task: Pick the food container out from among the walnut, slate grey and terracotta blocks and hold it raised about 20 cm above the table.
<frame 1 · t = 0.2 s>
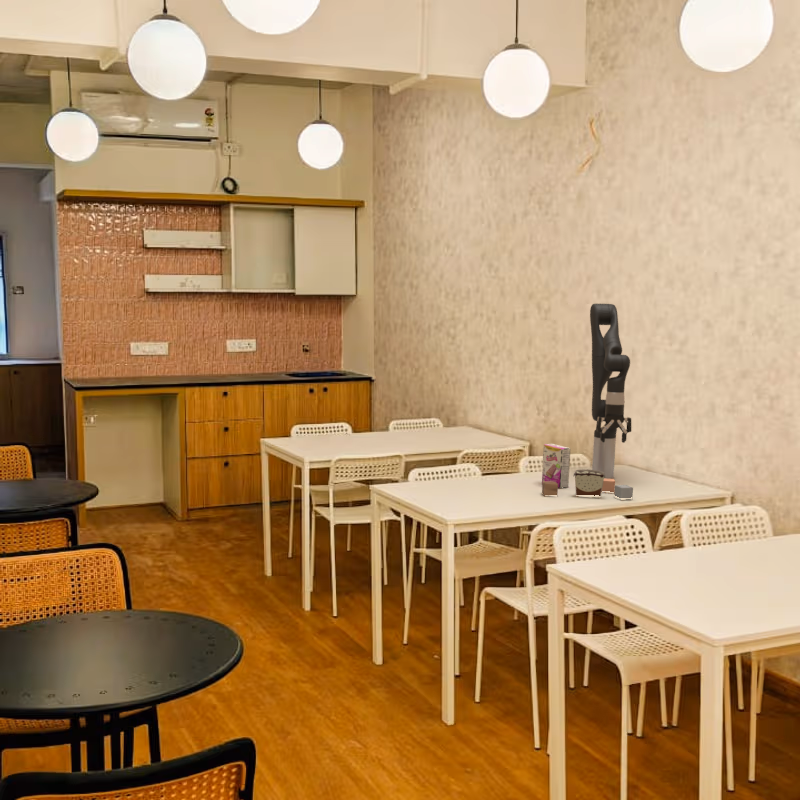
hand: (613, 442, 415), 17 cm above the table, tool pointing down, fingers open, 8 cm apart
slate grey block: (623, 499, 390), on the table
terracotta block: (607, 492, 401), on the table
candy bar box: (554, 486, 410), on the table
walnut block: (549, 495, 392), on the table
food container: (587, 496, 393), on the table
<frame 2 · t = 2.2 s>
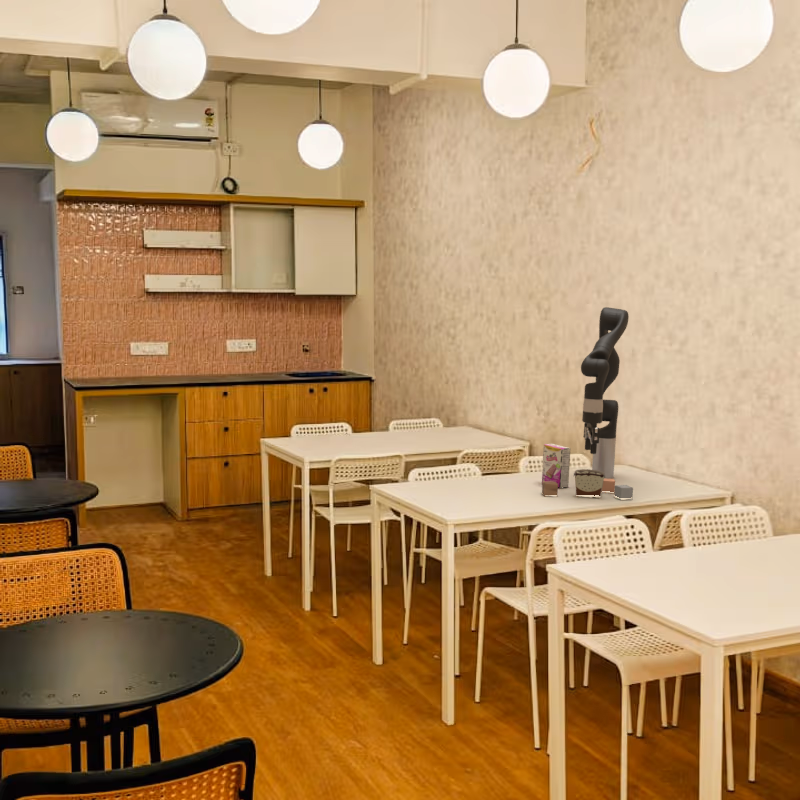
hand: (590, 451, 391), 17 cm above the table, tool pointing down, fingers open, 8 cm apart
nothing on the table moved.
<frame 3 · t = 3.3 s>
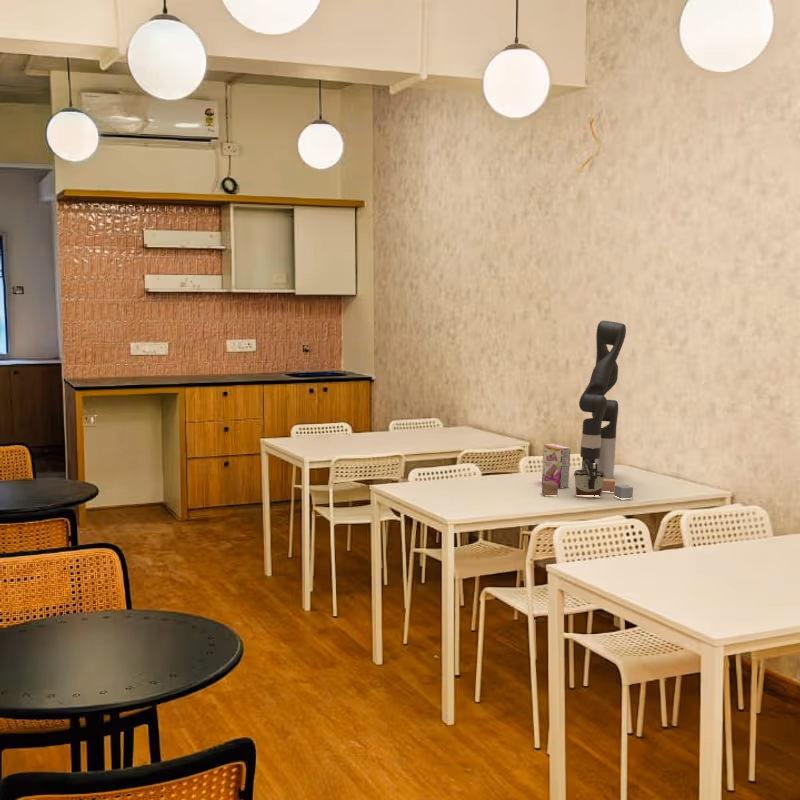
hand: (588, 486, 392), 4 cm above the table, tool pointing down, fingers open, 8 cm apart
nothing on the table moved.
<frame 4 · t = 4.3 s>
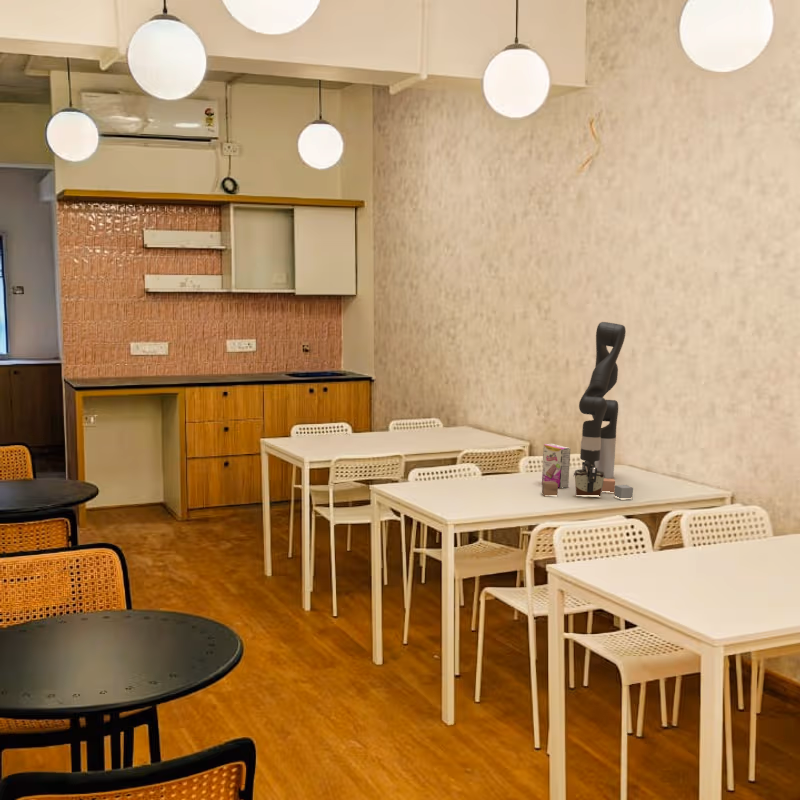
hand: (588, 490, 392), 2 cm above the table, tool pointing down, fingers closed on food container, 5 cm apart
food container: (587, 496, 393), on the table, touching gripper
everything else where it was.
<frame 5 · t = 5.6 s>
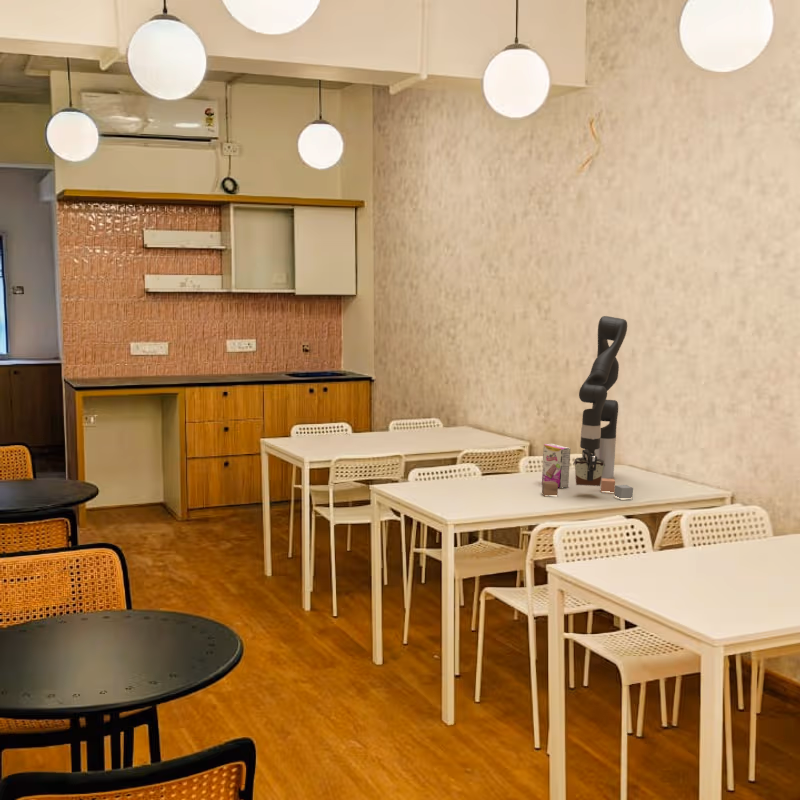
hand: (588, 478, 392), 7 cm above the table, tool pointing down, fingers closed on food container, 5 cm apart
food container: (587, 484, 393), point 4 cm above the table, touching gripper
everything else where it was.
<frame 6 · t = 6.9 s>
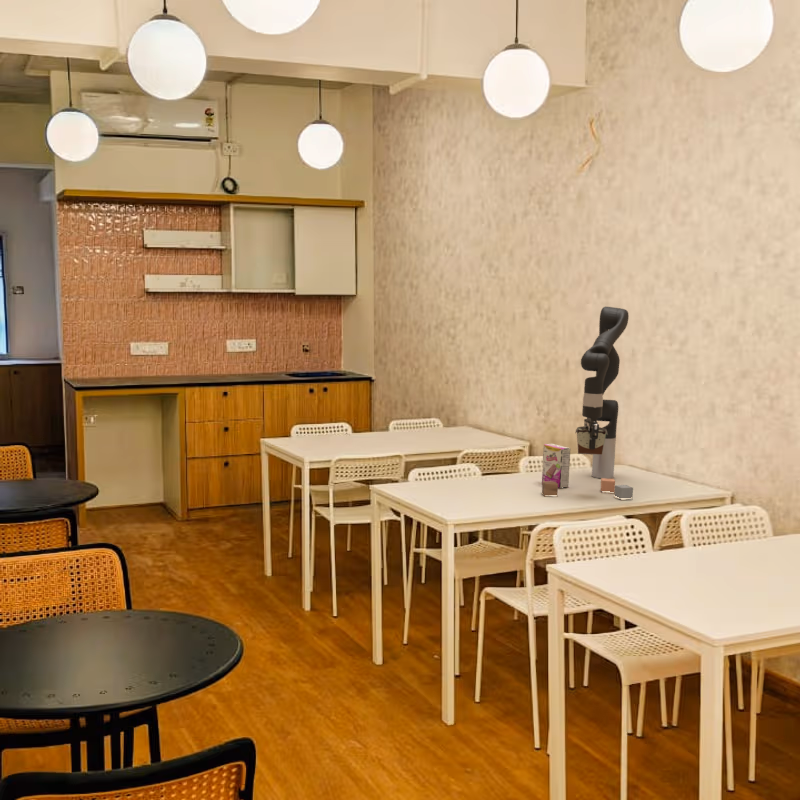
hand: (590, 447, 391), 19 cm above the table, tool pointing down, fingers closed on food container, 5 cm apart
food container: (589, 453, 392), point 17 cm above the table, touching gripper
everything else where it was.
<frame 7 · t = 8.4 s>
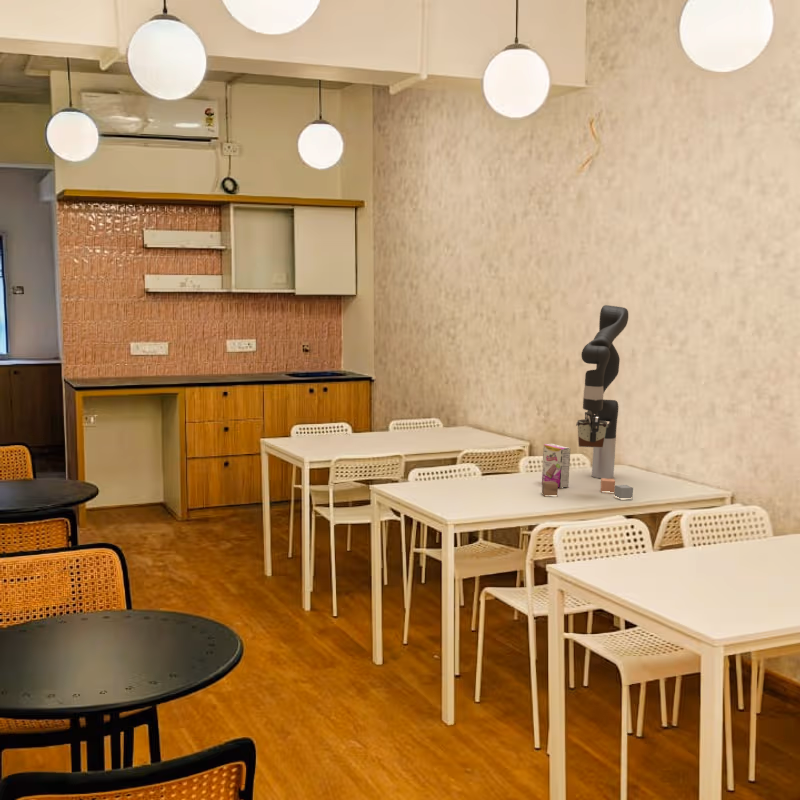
hand: (590, 440, 390), 22 cm above the table, tool pointing down, fingers closed on food container, 5 cm apart
food container: (590, 446, 391), point 19 cm above the table, touching gripper
everything else where it was.
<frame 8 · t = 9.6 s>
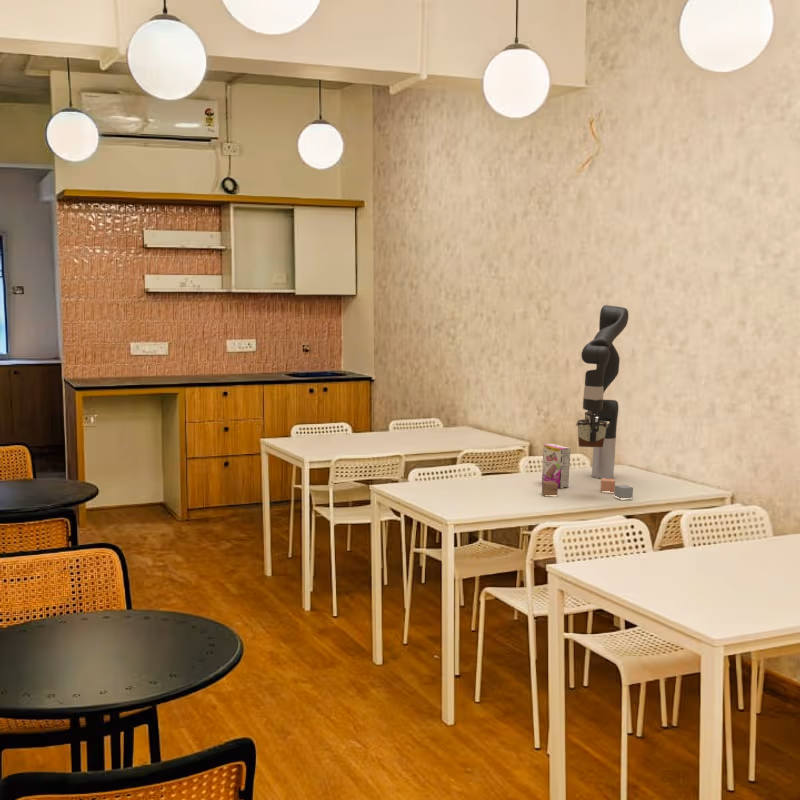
hand: (590, 440, 390), 22 cm above the table, tool pointing down, fingers closed on food container, 5 cm apart
food container: (590, 446, 391), point 19 cm above the table, touching gripper
everything else where it was.
at the end: the gripper is holding food container; food container point 19.4 cm above the table; slate grey block moved 0.1 cm from its start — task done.
